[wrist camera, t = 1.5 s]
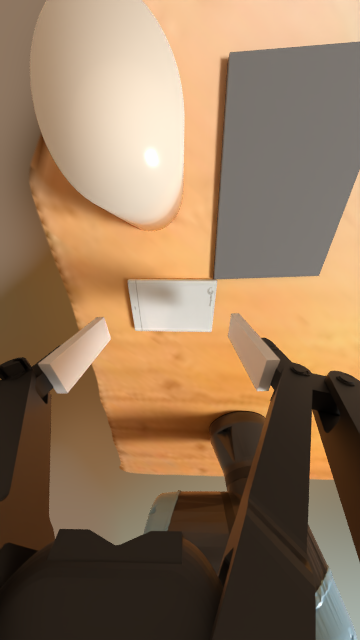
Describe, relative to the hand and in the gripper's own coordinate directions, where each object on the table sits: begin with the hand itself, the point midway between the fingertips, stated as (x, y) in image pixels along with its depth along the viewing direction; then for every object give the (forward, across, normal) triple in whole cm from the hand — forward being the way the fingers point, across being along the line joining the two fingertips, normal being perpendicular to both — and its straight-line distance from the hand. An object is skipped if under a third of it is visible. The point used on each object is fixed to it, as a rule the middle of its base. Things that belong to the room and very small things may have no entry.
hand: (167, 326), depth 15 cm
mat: (+8, -13, -12) cm, 20 cm away
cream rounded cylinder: (+8, +2, -13) cm, 16 cm away
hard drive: (+8, 0, +1) cm, 8 cm away
